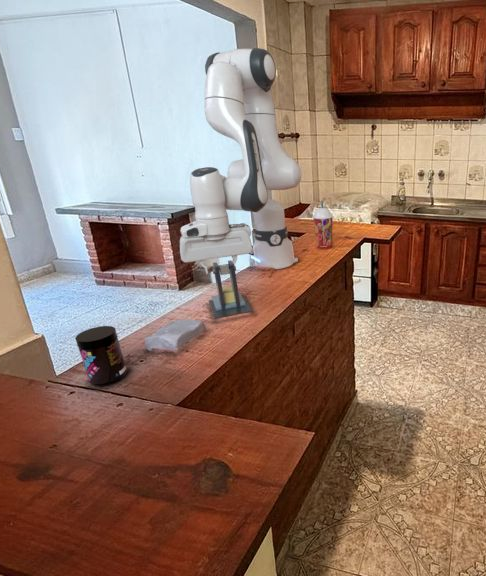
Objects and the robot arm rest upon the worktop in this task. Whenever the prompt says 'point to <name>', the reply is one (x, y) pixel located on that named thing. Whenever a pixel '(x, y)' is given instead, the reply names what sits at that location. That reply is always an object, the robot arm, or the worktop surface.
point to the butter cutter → (224, 311)
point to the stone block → (174, 334)
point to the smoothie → (323, 227)
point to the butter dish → (229, 305)
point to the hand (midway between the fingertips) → (220, 271)
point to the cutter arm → (222, 269)
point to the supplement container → (101, 355)
